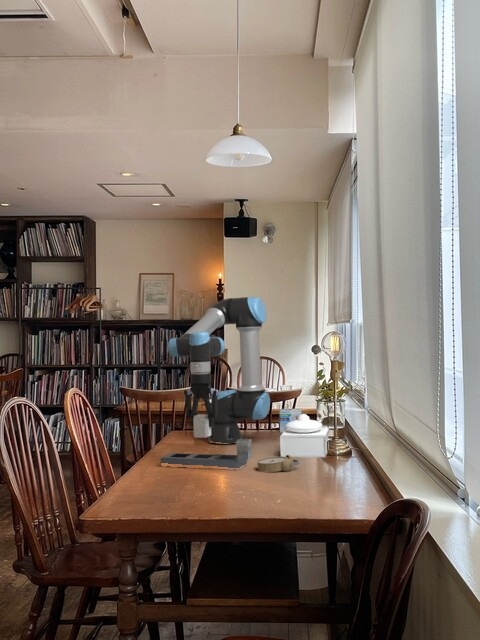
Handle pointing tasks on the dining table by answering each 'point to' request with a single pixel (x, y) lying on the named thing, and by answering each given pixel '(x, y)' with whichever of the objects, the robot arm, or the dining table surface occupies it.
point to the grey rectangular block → (200, 426)
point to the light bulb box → (288, 417)
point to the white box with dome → (304, 438)
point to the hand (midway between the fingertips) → (202, 435)
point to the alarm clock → (277, 464)
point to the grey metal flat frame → (205, 459)
